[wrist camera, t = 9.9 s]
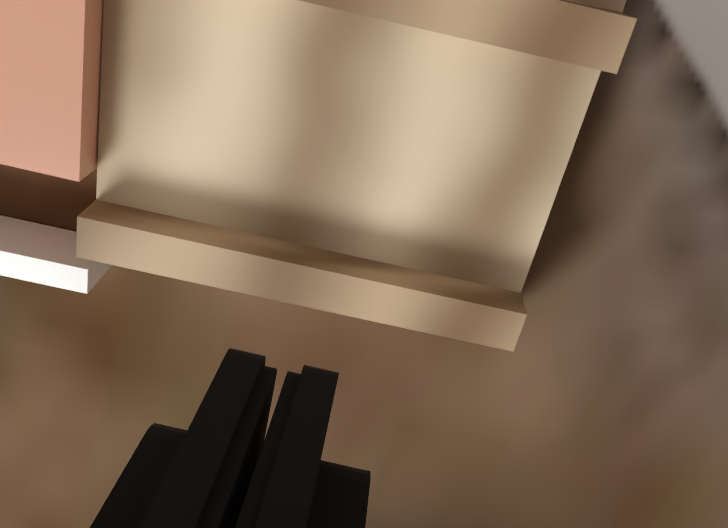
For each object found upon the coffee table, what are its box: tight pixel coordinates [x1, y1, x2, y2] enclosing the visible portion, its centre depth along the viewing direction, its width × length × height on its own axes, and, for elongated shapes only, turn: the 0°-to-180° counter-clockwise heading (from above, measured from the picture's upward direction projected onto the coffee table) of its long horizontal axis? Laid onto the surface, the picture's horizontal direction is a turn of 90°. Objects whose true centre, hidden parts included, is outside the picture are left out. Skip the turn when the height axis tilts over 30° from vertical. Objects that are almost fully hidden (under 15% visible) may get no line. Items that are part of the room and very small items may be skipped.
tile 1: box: [0, 0, 104, 182], centre depth 22 cm, size 6×6×4 cm
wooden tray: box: [76, 0, 637, 351], centre depth 22 cm, size 15×12×4 cm
